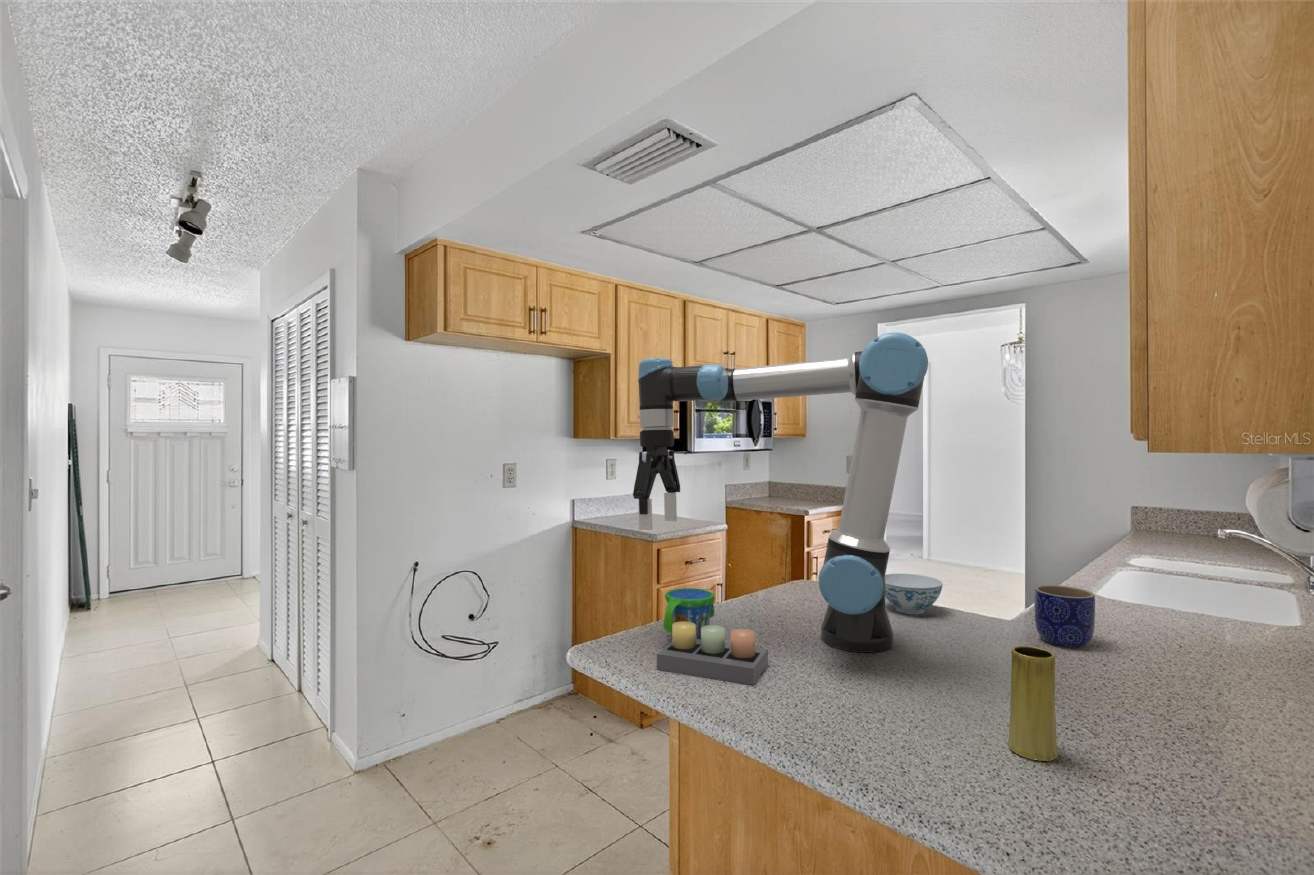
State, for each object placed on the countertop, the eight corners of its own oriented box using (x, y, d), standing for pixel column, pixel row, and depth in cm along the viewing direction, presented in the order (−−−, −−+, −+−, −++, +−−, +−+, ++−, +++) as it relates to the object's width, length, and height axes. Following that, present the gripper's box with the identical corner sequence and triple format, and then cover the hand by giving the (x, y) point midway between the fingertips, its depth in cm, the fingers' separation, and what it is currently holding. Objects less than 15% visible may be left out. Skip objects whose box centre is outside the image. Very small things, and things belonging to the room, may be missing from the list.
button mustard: (698, 643, 125) (698, 623, 125) (690, 650, 121) (690, 629, 121) (677, 640, 127) (677, 620, 127) (668, 647, 123) (668, 627, 123)
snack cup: (696, 626, 147) (696, 583, 146) (731, 637, 139) (731, 591, 139) (647, 642, 136) (647, 595, 136) (682, 654, 128) (682, 605, 128)
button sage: (727, 647, 123) (727, 626, 123) (720, 654, 118) (720, 633, 118) (705, 644, 124) (705, 624, 124) (697, 651, 120) (697, 630, 120)
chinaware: (872, 601, 167) (872, 572, 167) (930, 603, 165) (931, 574, 165) (887, 618, 152) (887, 587, 152) (951, 620, 151) (951, 588, 150)
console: (768, 664, 123) (768, 648, 123) (753, 685, 113) (753, 668, 113) (677, 650, 130) (677, 636, 130) (656, 669, 120) (656, 653, 120)
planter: (1101, 654, 127) (1101, 599, 127) (1039, 647, 131) (1039, 594, 131) (1087, 638, 138) (1087, 587, 137) (1030, 632, 142) (1030, 582, 141)
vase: (1066, 754, 88) (1066, 653, 88) (1044, 767, 85) (1044, 662, 85) (1021, 736, 93) (1021, 641, 93) (999, 748, 90) (999, 649, 90)
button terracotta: (757, 651, 120) (757, 630, 120) (751, 659, 116) (751, 638, 116) (734, 648, 122) (734, 627, 122) (727, 656, 118) (727, 634, 118)
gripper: (663, 429, 151) (665, 517, 151) (615, 429, 128) (617, 532, 129) (692, 428, 148) (694, 518, 148) (648, 428, 125) (650, 534, 126)
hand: (658, 525), depth 138 cm, fingers open, 13 cm apart
